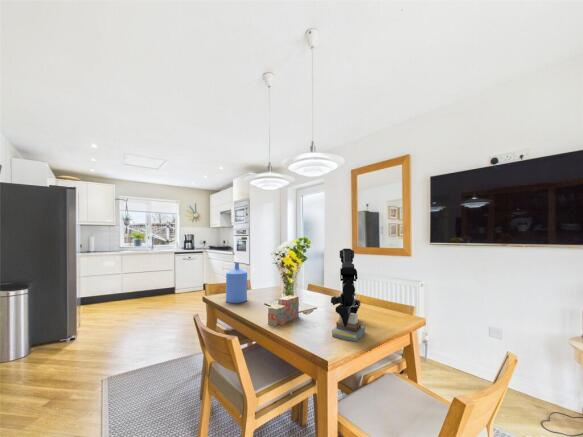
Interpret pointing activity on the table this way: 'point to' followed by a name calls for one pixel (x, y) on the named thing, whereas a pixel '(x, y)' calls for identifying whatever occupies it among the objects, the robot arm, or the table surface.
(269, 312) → the stack of blocks
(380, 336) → the table surface
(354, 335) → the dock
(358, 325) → the pallet
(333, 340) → the table surface
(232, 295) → the water jug
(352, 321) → the off-white carton
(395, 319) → the table surface
